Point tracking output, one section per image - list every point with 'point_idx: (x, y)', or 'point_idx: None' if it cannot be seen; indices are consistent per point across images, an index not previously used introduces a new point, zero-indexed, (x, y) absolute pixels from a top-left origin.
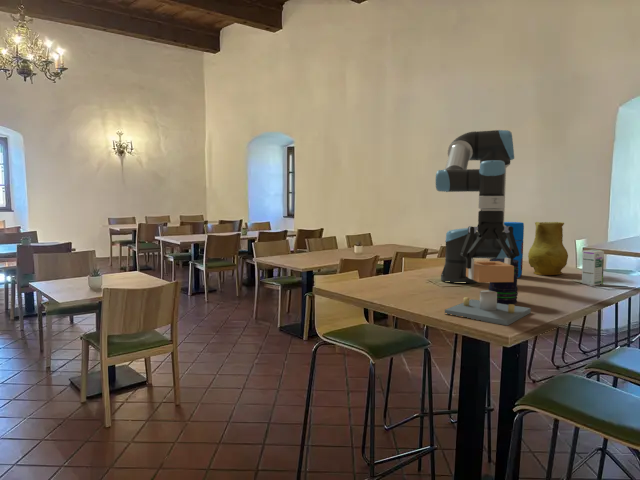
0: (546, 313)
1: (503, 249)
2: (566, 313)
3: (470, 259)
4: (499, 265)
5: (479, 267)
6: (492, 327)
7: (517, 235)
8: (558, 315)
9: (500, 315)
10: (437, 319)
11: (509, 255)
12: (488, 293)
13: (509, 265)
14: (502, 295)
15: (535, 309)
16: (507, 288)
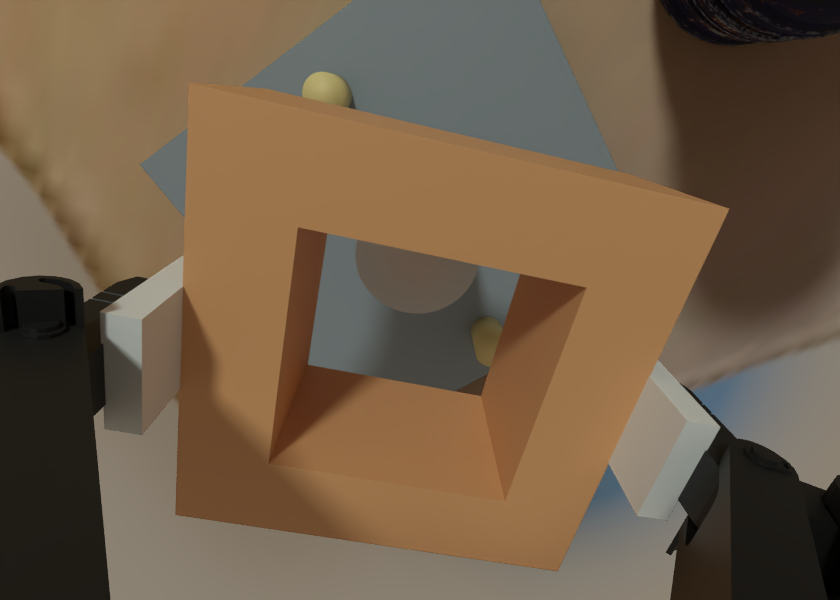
0: (719, 302)
1: (710, 561)
2: (811, 329)
3: (98, 394)
4: (438, 514)
5: (185, 506)
6: None
7: None
8: (735, 348)
9: (395, 360)
10: (79, 248)
11: (680, 552)
12: (389, 295)
13: (541, 537)
14: (711, 12)
15: (749, 212)
16: (788, 17)
